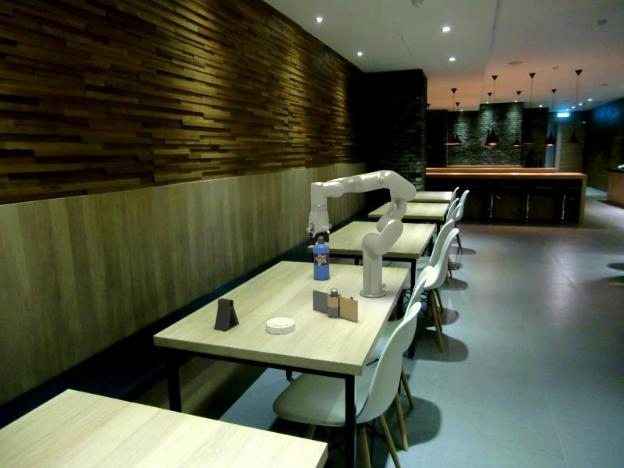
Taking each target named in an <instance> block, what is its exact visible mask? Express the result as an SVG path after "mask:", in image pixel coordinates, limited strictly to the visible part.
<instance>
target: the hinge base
mask: <svg viewBox="0 0 624 468" xmlns="http://www.w3.org/2000/svg"><path fill="white" fill-rule="evenodd" d="M328 294H329V293H328V292H323V291H321V290H316V289H313V290H312V311H317V312H319V313H322V314H326V315H327V318H331V319H338V318H339V319H340V318H341V317H340V307H338V308H331V307H328V306H327V295H328Z"/></svg>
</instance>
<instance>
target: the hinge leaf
mask: <svg viewBox="0 0 624 468" xmlns="http://www.w3.org/2000/svg"><path fill="white" fill-rule="evenodd" d="M327 306H328V307H331V308H338V307H340V317H339V318H342V319H346V320H349V321H352V322H355V323H356V322H359V301H358V300H355V299H353V300H352V299H350V298H348V297H343V296H342V294H341V293H338V297H331V293H328V295H327Z"/></svg>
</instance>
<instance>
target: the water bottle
mask: <svg viewBox="0 0 624 468" xmlns="http://www.w3.org/2000/svg"><path fill="white" fill-rule="evenodd" d="M316 242H317V243H316V245H315V246H313V245H312V253H313V280H314V281H318V282H325V281H329V280H330V260H329V256H330V246H329V245H327V244H326V242H324V241H323V235H319V236H318V237H317V241H316Z"/></svg>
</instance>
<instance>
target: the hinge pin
mask: <svg viewBox="0 0 624 468" xmlns="http://www.w3.org/2000/svg"><path fill="white" fill-rule="evenodd" d="M330 294H331V297H338V294H339V289H338V288H335V287H333V288H330Z"/></svg>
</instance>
